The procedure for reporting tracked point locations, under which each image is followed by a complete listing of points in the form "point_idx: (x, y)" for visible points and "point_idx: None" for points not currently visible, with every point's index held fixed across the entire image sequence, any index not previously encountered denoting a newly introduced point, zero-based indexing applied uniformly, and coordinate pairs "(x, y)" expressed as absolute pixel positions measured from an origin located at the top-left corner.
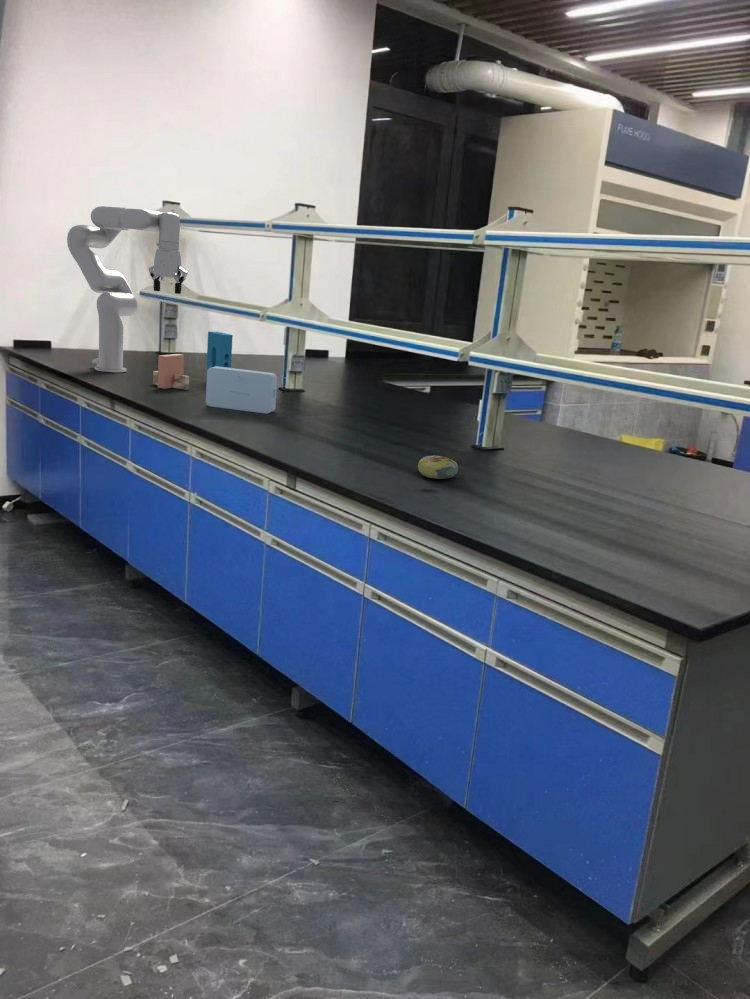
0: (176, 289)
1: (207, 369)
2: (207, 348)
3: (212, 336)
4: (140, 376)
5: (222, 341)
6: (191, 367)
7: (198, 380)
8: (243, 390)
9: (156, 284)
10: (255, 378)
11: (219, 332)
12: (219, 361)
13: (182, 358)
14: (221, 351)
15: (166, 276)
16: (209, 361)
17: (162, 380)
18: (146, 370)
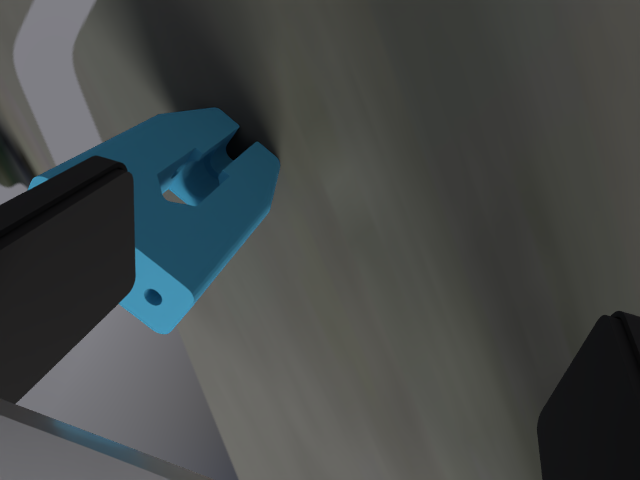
0: (48, 190)
1: (267, 184)
2: (235, 238)
3: (156, 241)
4: (601, 75)
5: (70, 161)
6: (474, 465)
7: (321, 161)
8: None
9: (622, 442)
10: None
11: (135, 303)
12: (154, 130)
13: None
14: (110, 140)
15: (61, 426)
16: (240, 191)
17: None
18: (624, 294)
